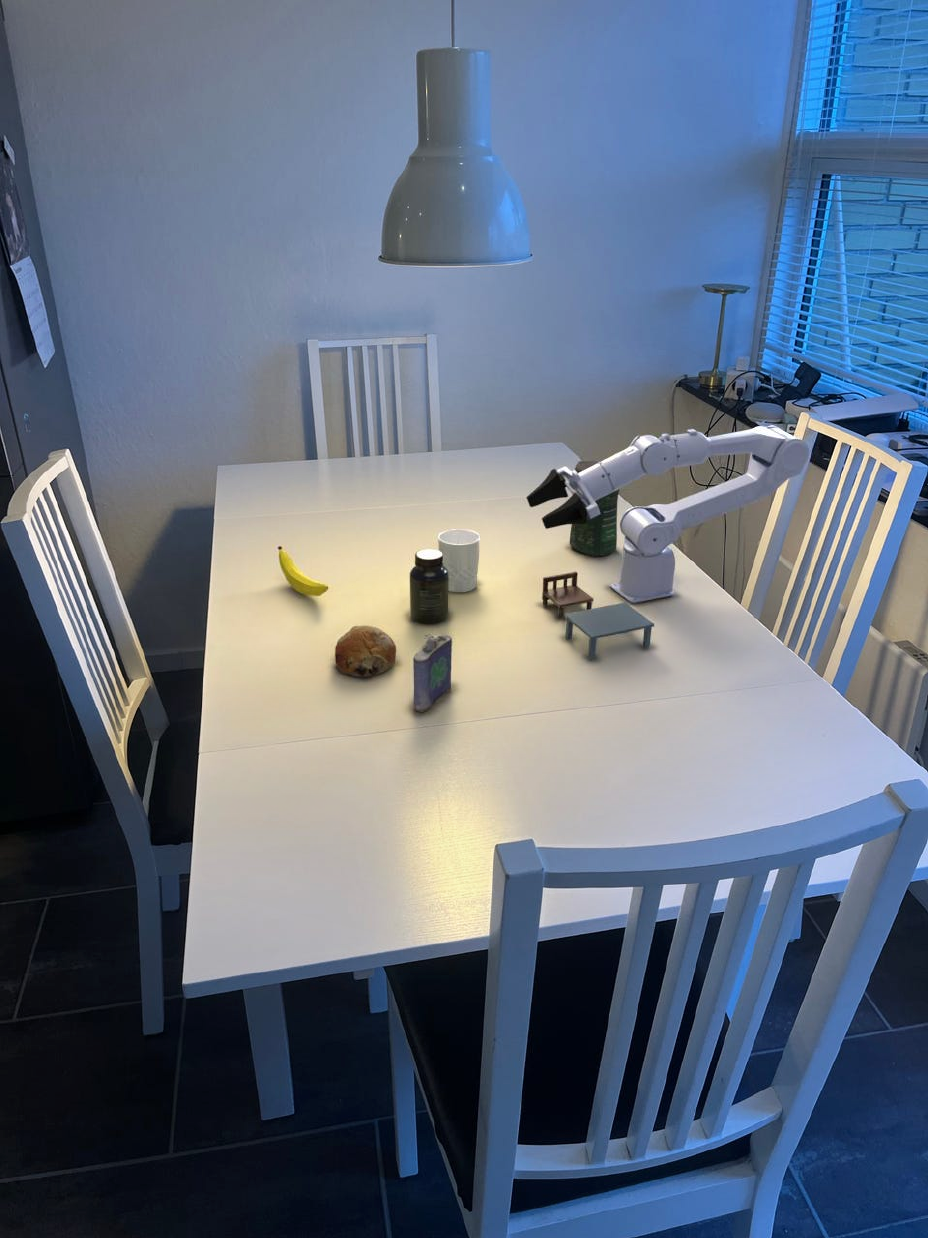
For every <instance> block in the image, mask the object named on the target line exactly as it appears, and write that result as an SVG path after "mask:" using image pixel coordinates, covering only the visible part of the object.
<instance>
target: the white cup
mask: <svg viewBox="0 0 928 1238" xmlns="http://www.w3.org/2000/svg"><path fill="white" fill-rule="evenodd" d="M437 543H438V544H437V546H438V547H437V548H438V551H441V552H442V554H443V566H444V567H445V568H446V569H447V571H448V573H449V592H451V593H466V592H471V591H472V590H475V588H476V586H477V584H478V583H477V582H478V573H479V562H480V548H481V535H480V534H479V533H478V532H476V531H474V530H471V529H466V528H465V529H463V528H454V529H453V528H452V529H447V530H444V531H442V532H439V534H438V535H437Z"/></svg>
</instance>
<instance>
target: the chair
mask: <svg viewBox="0 0 928 1238" xmlns="http://www.w3.org/2000/svg"><path fill="white" fill-rule="evenodd" d="M578 573H579V572H577V571H571V572H567V573H566V572H565V573H560V574H555V575H549V576H544V577H542V592H541V593H542V594H541V600H542V605H543V606H544V607H545V606H548V602H549V601H551V602H552V603H553V604H555V605H556V606H557V607H558V608H557V609H558V610H557V618H558V620H559V619H560V620H562V619H563V618H564V608H566V607H571V606H573V607H574V606H577V605H582V604H586V609H585V610H589V609H593V608H592V607H593V602H594V597H592V596H591V595H590V594H588V593H587V592H586V591H584V589H582V588H581V587H579V586H578ZM568 579H571V584H570V585H568ZM558 581H562V582H563V584H562V586H559V587H557V585H558ZM549 583H552V588H549Z"/></svg>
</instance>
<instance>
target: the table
mask: <svg viewBox="0 0 928 1238" xmlns="http://www.w3.org/2000/svg"><path fill="white" fill-rule="evenodd" d="M564 618H565V619H566V621H565V635H564V636H565V639H566V640H567V641H570V640H573V633H574V626H575V627H576V628H577V629H578V630H580V632H582V633H583V634H584V635H585V636H586V637H588V649H587V651H588V652H587V659H588V660H589V661H593V660H596V653H597V652H596V651H597V641H598V640H597V639H601V638H602V639H603V638H607V637H610V636H615V635H620V634H625V633H629V632H630V633H631V632H635V631H638V630H640V631H641V630H643V635H642V636H643V637H642V647H643V648H644V649H648V648H650V647H651V637H652V628H654V627H655V623H654V622H652V621H651V620H650V619H648V618H647V617H645V615H643V614H641V613H640V612H639V611H637V610H636V609H635V608H634V607H632V606H631V605H629V604H628V603H627V602H620V603H615V604H611V605H605V606H599V607H595V608H592V609H589V610H586V609H585V610H579V611H574V612H569V613H564Z"/></svg>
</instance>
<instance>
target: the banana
mask: <svg viewBox="0 0 928 1238" xmlns="http://www.w3.org/2000/svg"><path fill="white" fill-rule="evenodd" d="M277 550H278V551H279V552H278V560H279V566H280V569H281V571H282V573H283V575H284V577H285V579H286V581H287V582H288V584H289V585H290V586H291V588H293V589H294V590H295V591H296V592H298V593H299V594H302V595H306V596H313V597H320V596H321V595H323V594H324V593H326V592H327V591H328V590H329V585H328V584H325V583H323V582H319V581H316V580H314V579H312V578H309V576H307V575H305V574H304V573H302V572H301V571H300V570H299V568H298V567H297V566H296V564H295V563H294V561H293V559H292V558H291V557H290V555H289V554H288V553H287V552H286V551H284V550H283V547H282V546H281V545H279V546H277Z"/></svg>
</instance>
